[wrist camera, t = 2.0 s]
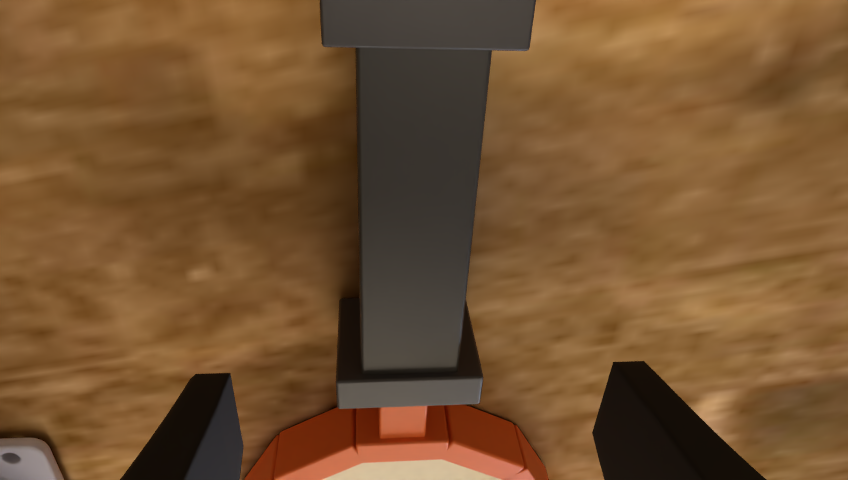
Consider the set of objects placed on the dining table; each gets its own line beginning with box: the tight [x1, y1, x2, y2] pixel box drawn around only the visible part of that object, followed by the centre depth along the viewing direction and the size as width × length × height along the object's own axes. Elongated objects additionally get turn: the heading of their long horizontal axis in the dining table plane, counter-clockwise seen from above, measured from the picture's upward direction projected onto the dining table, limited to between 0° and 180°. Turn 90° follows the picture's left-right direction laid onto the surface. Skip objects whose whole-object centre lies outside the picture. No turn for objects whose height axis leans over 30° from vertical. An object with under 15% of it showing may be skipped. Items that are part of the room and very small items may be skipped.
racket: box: [244, 0, 549, 480], centre depth 18 cm, size 11×24×3 cm, turn 177°
